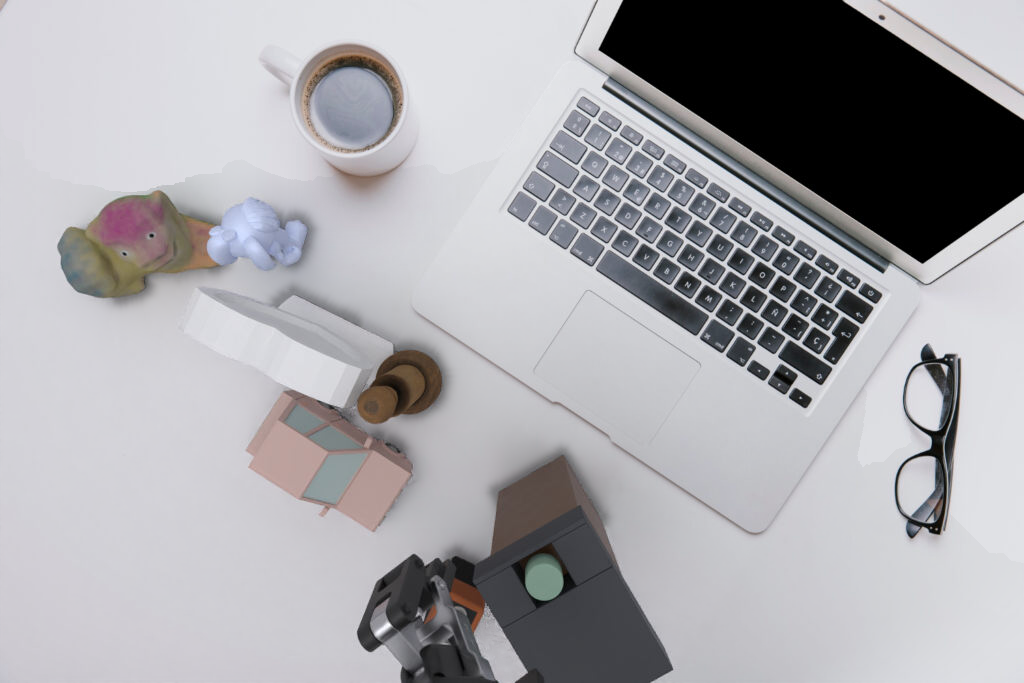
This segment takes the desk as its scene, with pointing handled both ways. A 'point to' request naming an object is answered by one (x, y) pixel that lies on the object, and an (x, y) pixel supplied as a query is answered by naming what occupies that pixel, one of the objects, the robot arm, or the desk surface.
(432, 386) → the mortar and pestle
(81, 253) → the sculpture
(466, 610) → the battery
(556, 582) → the tare button
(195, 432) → the desk surface
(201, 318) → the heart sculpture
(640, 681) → the dark grey tall block
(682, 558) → the desk surface
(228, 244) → the toy figurine
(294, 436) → the toy car
